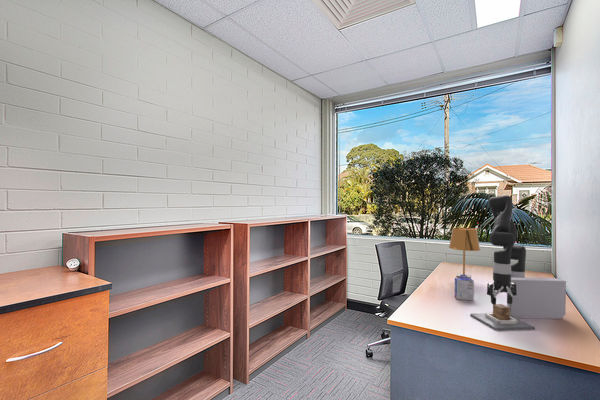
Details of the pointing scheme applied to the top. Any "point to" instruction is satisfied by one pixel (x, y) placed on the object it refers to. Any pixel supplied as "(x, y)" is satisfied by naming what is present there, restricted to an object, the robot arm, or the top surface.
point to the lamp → (464, 243)
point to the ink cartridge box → (464, 288)
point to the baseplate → (502, 322)
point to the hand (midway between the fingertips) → (501, 303)
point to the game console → (538, 298)
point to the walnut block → (501, 312)
